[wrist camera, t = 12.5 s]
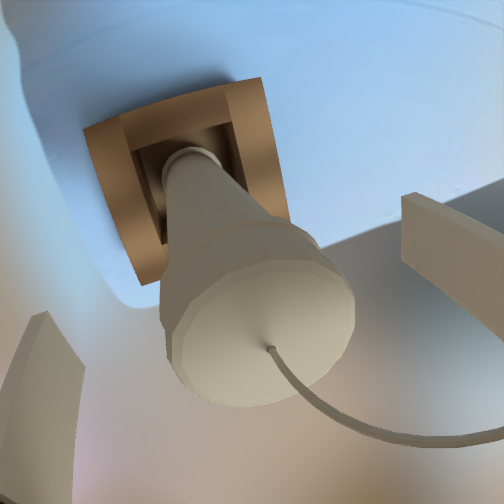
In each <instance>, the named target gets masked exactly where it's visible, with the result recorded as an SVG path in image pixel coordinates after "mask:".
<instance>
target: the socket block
mask: <svg viewBox="0 0 504 504" xmlns="http://www.w3.org/2000/svg"><path fill="white" fill-rule="evenodd" d="M83 132H84V135H85V139H86V142H87V145H88V149H89V152H90V155H91V158H92V161H93V164H94V167H95V170H96V173H97V176H98V179H99V182H100V185H101V188H102V191H103V193H104V196H105V199H106V202H107V204H108V207H109V210H110V212H111V215H112V218H113V220H114V223H115V225H116V228H117V230H118V233H119V235H120V238H121V240H122V243H123V245H124V247H125V250H126V252H127V255H128V257H129V259H130V262H131V264H132V266H133V268H134V271H135V273H136V275H137V277H138V280H139V282H140V284H141V286H143V285H146V284H150V283H153V282H156V281H159V280H160V279H161V277H162V275H163V273H164V271H165V270H166V268H167V266H168V264H169V254H168V234H167V205H166V193H165V191H164V188H163V185H162V182H161V180H162V170H163V167H164V165H165V163H166V161H167V160H168V158H169V156H170V155H172V154H173V153H174V152H175V151H177V150H178V149H181V148H184V147H187V146H194V147H202V148H204V149H206V150H208V151H210V152H211V153H213V154H214V155H215V157H216V158H217V159H218V160H219V162H220V163H221V166H222V169H223V170H224V171H225V172H226V173H227V174H228V175H230V176H231V177H232V178H233V179H234V180H235V181H236V182H237V183H238V184H239V185H240V186H241V187H242V188H243V189H244V190H245V191H246V192H247V193H248V194H249V195H250V196H251V197H252V198H254V199H255V200H256V201H257V202H258V203H259V204H260V205H261V206H262V207H263V208H264V209H265V210H266V211H267V212H268V213H269V214H270V215H271V216H280V217H281V218H283V219H285V220H287V221H288V222H290V216H289V211H288V205H287V200H286V195H285V189H284V184H283V179H282V174H281V169H280V164H279V159H278V154H277V149H276V144H275V139H274V134H273V129H272V125H271V120H270V115H269V111H268V106H267V102H266V97H265V93H264V88H263V84H262V80H261V77H258V78H253V79H247V80H242V81H237V82H232V83H228V84H223V85H219V86H214V87H210V88H206V89H202V90H198V91H194V92H190V93H187V94H183V95H179V96H176V97H172V98H169V99H166V100H162V101H159V102H156V103H153V104H150V105H146V106H143V107H140V108H137V109H135V110H132V111H129V112H126V113H123V114H120V115H118V116H115V117H112V118H110V119H107V120H105V121H102V122H100V123H97V124H95V125H92V126H90V127H87V128H85V129H83ZM290 223H291V222H290Z"/></svg>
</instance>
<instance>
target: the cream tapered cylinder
mask: <svg viewBox="0 0 504 504" xmlns="http://www.w3.org/2000/svg"><path fill="white" fill-rule="evenodd" d="M161 182H162V185H163V188H164V191H165V193H166V205H167V234H168V254H169V264H168V266H167V268H166V270H165V271H164V273H163V275H162V277H161V279H160V321H161V323H162V325H163V327H164V329H165V336H166V350H167V358H168V360H169V362H170V363H171V365H172V367H173V369H174V370H175V372H176V374H177V376H178V377H179V379H180V381H181V382H182V384H183V385H184V386H185V387H186V388H187V389H189V390H190V391H192V392H194V393H195V394H197V395H198V396H200V397H202V398H203V399H205V400H207V401H208V402H212V403H216V404H222V405H227V406H232V407H248V406H257V405H267V404H271V403H274V402H276V401H279V400H281V399H284V398H287V397H290V396H292V395H295V394H298V393H300V394H301V395H302V396H303V397H304V398H305V399H306V400H307V401H309V402H310V403H311V404H312V405H313V406H314V407H316V408H317V409H318V410H320V411H321V412H323V413H324V414H326V415H327V416H329V417H330V418H332V419H333V420H334V421H336V422H338V423H340V424H342V425H344V426H346V427H349V428H350V429H353V430H355V431H357V432H359V433H361V434H363V435H366V436H369V437H372V438H375V439H379V440H382V441H386V442H389V443H393V444H399V445H405V446H412V447H420V448H460V447H467V446H473V445H478V444H484V443H489V442H494V441H498V440H502V439H504V426H503V427H500V428H497V429H493V430H488V431H483V432H478V433H472V434H466V435H461V436H418V435H411V434H403V433H396V432H392V431H388V430H385V429H381V428H378V427H374V426H371V425H368V424H366V423H363V422H361V421H359V420H357V419H354V418H352V417H350V416H348V415H346V414H343V413H341V412H340V411H338V410H337V409H335V408H333V407H332V406H330V405H329V404H327V403H326V402H324V401H323V400H321V399H320V398H318V397H317V396H316V395H315V394H314V393H313V392H312V391H310V390H309V389H308V388H307V387H308V386H310V385H311V384H313V383H314V382H316V381H317V380H318V379H320V378H321V377H323V376H324V375H325V374H326V373H327V372H328V371H329V369H330V368H331V367H332V366H333V365H334V364H335V363H336V361H337V360H338V359H339V358H340V357H341V355H342V354H343V353H344V351H345V349H346V347H347V344H348V342H349V339H350V337H351V335H352V332H353V330H354V327H355V299H354V294H353V292H352V290H351V288H350V287H349V285H348V283H347V281H346V280H345V278H344V276H343V275H342V273H341V271H340V270H339V268H338V267H337V266H336V265H335V264H334V263H333V262H331V261H330V260H329V259H328V258H327V257H326V256H325V255H324V254H323V252H322V250H321V249H320V247H319V246H318V244H317V242H316V241H315V239H314V238H313V237H312V236H310V235H309V234H308V233H307V232H306V231H304V230H302V229H300V228H299V227H297V226H295V225H293V224H292V223H290V222H288V221H287V220H285V219H283V218H281V217H280V216H271V215H270V214H269V213H268V212H267V211H266V210H265V209H264V208H263V207H262V206H261V205H260V204H259V203H258V202H257V201H256V200H255V199H254V198H252V197H251V196H250V195H249V194H248V193H247V192H246V191H245V190H244V189H243V188H242V187H241V186H240V185H239V184H238V183H237V182H236V181H235V180H234V179H233V178H232V177H231V176H230V175H228V174H227V173H226V172H225V171H224V170H223V169H222V166H221V163H220V162H219V160H218V159H217V158H216V157H215V155H214V154H213V153H211V152H210V151H208V150H206V149H204V148H202V147H194V146H187V147H184V148H181V149H178V150H177V151H175V152H174V153H173V154H172V155H170V156H169V158H168V160H167V161H166V163H165V165H164V167H163V170H162V180H161Z"/></svg>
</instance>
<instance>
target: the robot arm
mask: <svg viewBox="0 0 504 504" xmlns="http://www.w3.org/2000/svg"><path fill="white" fill-rule="evenodd" d="M401 205H402V241H401V260H402V261H403V262H405V263H406V264H408V265H409V266H410V267H412V268H413V269H414V270H416V271H417V272H418V273H420V274H421V275H422V276H424V277H425V278H426V279H428V280H429V281H430V282H432V283H433V284H434V285H435V286H437V287H438V288H439V289H440V290H442V291H443V292H444V293H446V294H447V295H448V296H449V297H451V298H452V299H453V300H454V301H456V302H457V303H458V304H459V305H461V306H462V307H463V308H464V309H466V310H467V311H468V312H469V313H470V314H472V315H473V316H474V317H475V318H476V319H478V320H479V321H480V322H481V323H482V324H484V325H485V326H486V327H487V328H488V329H489V330H491V331H492V332H493V333H494V334H495V335H496V336H497V337H499V338H500V339H501V340H502V341H503V342H504V235H503V234H501V233H499V232H497V231H496V230H494V229H492V228H490V227H488V226H486V225H484V224H482V223H480V222H478V221H476V220H475V219H473V218H471V217H469V216H466V215H465V214H462V213H460V212H458V211H456V210H454V209H452V208H450V207H448V206H446V205H444V204H441V203H439V202H437V201H435V200H433V199H430V198H428V197H426V196H424V195H421V194H419V193H417V192H414V193H411V194H407V195H404V196H401ZM84 372H85V365H84V364H83V363H82V362H81V360H80V359H79V357H78V356H77V355H76V353H75V352H74V350H73V349H72V347H71V346H70V345H69V343H68V342H67V340H66V339H65V337H64V336H63V335H62V333H61V331H60V330H59V328H58V327H57V325H56V324H55V322H54V321H53V319H52V317H51V316H50V314H49V313H48V311H45V312H43V313H40V314H37V315H34V316H32V317H31V319H30V321H29V324H28V325H27V328H26V330H25V332H24V334H23V336H22V339H21V341H20V343H19V345H18V348H17V350H16V352H15V355H14V357H13V359H12V362H11V364H10V367H9V370H8V372H7V375H6V377H5V380H4V383H3V385H2V388H1V391H0V504H72V481H73V461H74V449H75V438H76V428H77V420H78V411H79V404H80V397H81V391H82V384H83V379H84Z"/></svg>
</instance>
